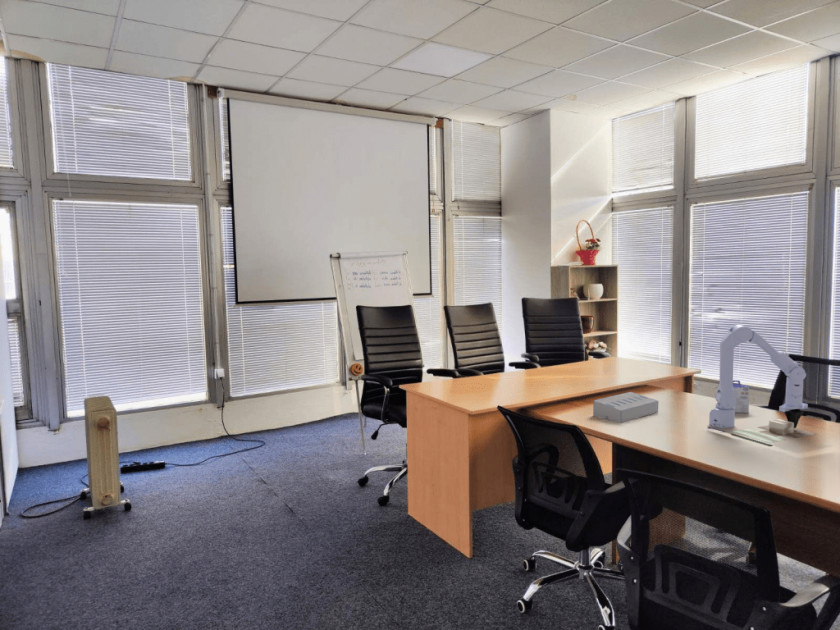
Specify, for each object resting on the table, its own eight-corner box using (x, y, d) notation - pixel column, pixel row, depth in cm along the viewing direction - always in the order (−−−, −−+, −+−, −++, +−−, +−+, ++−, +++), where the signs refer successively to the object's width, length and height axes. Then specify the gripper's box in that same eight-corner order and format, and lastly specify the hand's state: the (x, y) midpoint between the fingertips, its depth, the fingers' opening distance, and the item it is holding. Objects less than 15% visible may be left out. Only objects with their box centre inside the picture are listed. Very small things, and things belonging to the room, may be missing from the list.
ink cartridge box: (745, 410, 264) (746, 380, 263) (749, 413, 259) (750, 382, 258) (722, 409, 266) (723, 379, 265) (726, 412, 261) (727, 381, 260)
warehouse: (621, 423, 245) (621, 406, 244) (593, 416, 256) (593, 400, 256) (658, 412, 263) (658, 396, 262) (630, 406, 274) (630, 391, 274)
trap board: (769, 446, 210) (769, 442, 210) (731, 435, 225) (731, 431, 225) (817, 437, 221) (817, 433, 221) (778, 427, 236) (778, 423, 236)
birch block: (783, 434, 220) (783, 424, 220) (768, 430, 226) (769, 420, 226) (793, 432, 223) (793, 422, 222) (778, 428, 228) (779, 419, 228)
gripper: (792, 398, 219) (790, 432, 220) (815, 394, 225) (814, 427, 226) (774, 394, 226) (773, 427, 227) (798, 391, 232) (796, 423, 233)
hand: (792, 427), depth 227 cm, fingers closed
